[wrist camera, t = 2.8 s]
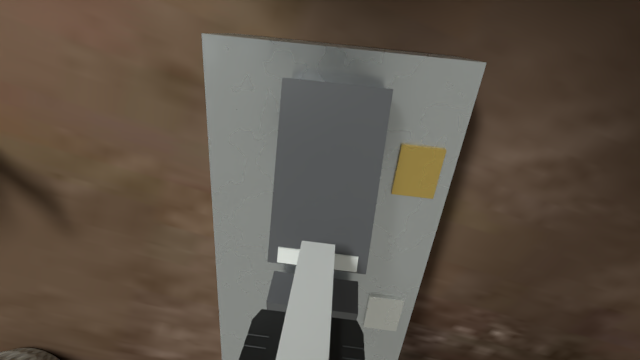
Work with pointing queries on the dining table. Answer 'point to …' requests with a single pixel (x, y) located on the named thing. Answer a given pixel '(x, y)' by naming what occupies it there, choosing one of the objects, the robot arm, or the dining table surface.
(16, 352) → the vase
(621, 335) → the dining table surface
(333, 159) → the switch
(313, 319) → the robot arm
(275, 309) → the switch
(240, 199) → the console
